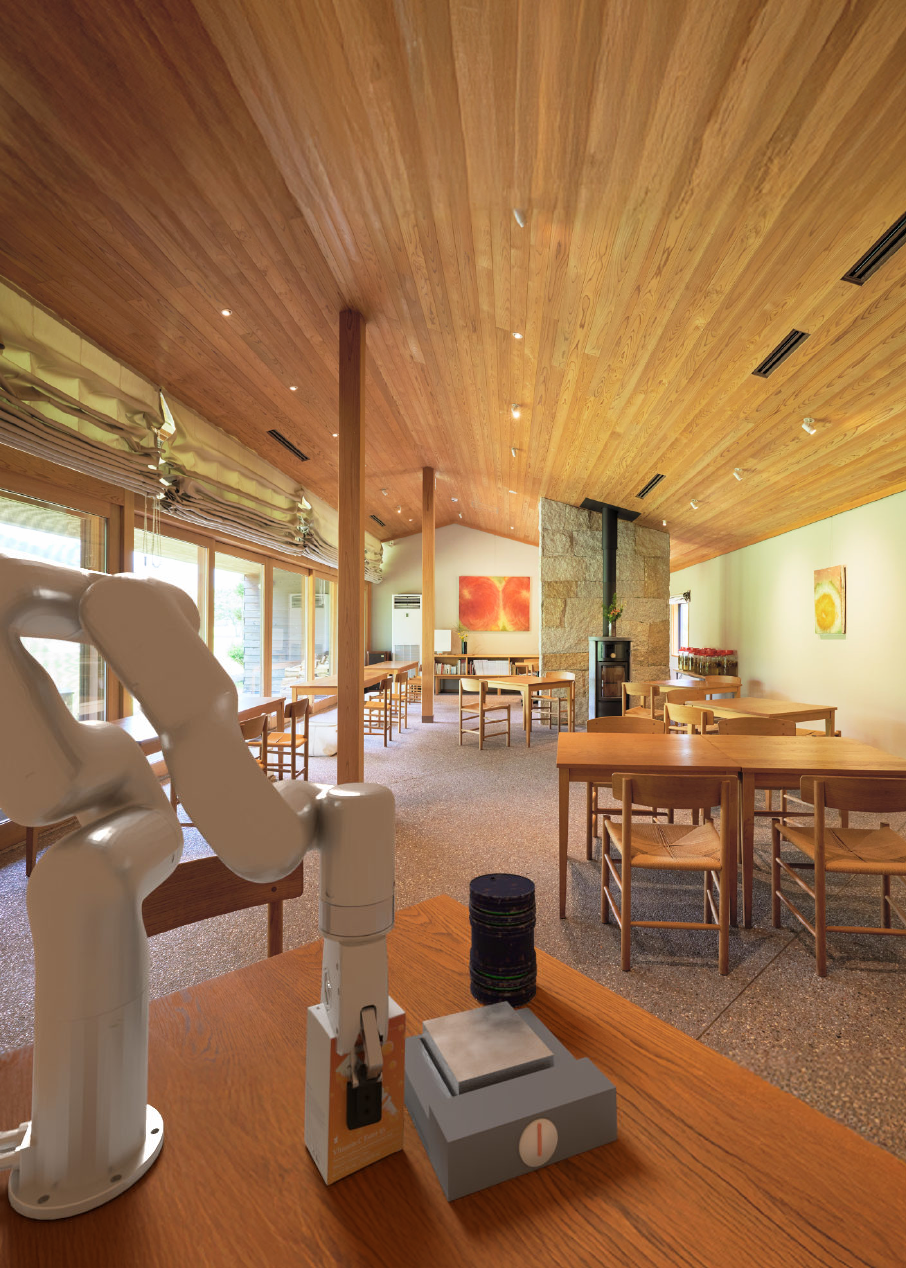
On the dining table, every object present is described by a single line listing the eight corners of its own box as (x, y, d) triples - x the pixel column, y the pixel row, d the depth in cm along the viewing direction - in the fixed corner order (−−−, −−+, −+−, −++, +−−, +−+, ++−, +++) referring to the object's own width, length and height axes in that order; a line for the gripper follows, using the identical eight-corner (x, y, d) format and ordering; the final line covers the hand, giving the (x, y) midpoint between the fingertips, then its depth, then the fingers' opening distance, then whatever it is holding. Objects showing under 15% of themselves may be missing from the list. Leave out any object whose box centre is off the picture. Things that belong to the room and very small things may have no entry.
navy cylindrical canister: (551, 998, 84) (549, 890, 85) (490, 1016, 80) (489, 902, 81) (514, 966, 93) (513, 869, 94) (457, 980, 89) (457, 878, 90)
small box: (326, 1189, 53) (329, 1039, 54) (302, 1142, 59) (305, 1005, 59) (406, 1149, 58) (407, 1011, 59) (377, 1109, 63) (378, 982, 64)
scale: (450, 1206, 52) (450, 1146, 52) (391, 1072, 69) (391, 1027, 69) (620, 1143, 58) (619, 1090, 59) (528, 1035, 76) (527, 995, 76)
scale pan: (458, 1113, 59) (458, 1082, 59) (422, 1047, 69) (422, 1021, 70) (554, 1083, 63) (553, 1054, 64) (506, 1026, 74) (506, 1001, 74)
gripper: (306, 886, 66) (303, 1052, 65) (336, 957, 50) (333, 1178, 49) (372, 877, 69) (370, 1036, 68) (420, 941, 53) (419, 1151, 52)
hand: (354, 1094), depth 59 cm, fingers closed on small box, 7 cm apart
